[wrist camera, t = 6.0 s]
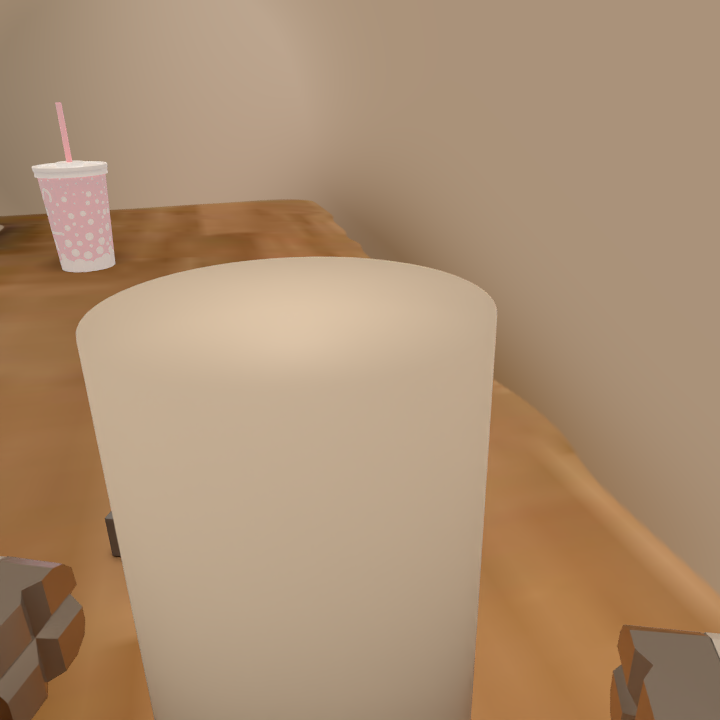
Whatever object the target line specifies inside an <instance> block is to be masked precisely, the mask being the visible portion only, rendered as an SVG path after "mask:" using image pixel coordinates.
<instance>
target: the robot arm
mask: <svg viewBox="0 0 720 720" xmlns="http://www.w3.org/2000/svg"><path fill="white" fill-rule="evenodd" d="M76 585H77V584H76V581H75V577H74V574H73V571H72V568H71V567H69V566H66V565H64V564H60V563H52V562H45V561H38V560H30V559H23V558H16V557H8V556H7V557H3V556H0V720H31V719H32V718H33V717H34V715H35V714H36V713H37V711H38V710H39V708H40V707H41V706H42V704H43V703H44V701H45V700H46V699H47V697H48V682H49V681H51V680H52V679H54V678H56V677H57V676H59V675H60V674H62V673H64V672H65V671H67V669H68V668H69V666H70V665H71V663H72V662H73V660H74V659H75V657H76V656H77V655H78V652H79V649H80V646H81V643H82V640H83V638H84V635H85V617H84V612H83V608H82V606H81V605H80V604H79V603H78V602H77V601H76V600H75V599H74V598H73V597H72V596H71V593H72V591H73V590H74V588H75V586H76ZM617 647H618V651H619V655H620V660H621V664H622V665H620V666H619V667H618V668H616V669H615V670H614V671H613V675H612V682H611V689H610V713H611V720H720V634H716V633H706V632H705V633H701V632H693V631H683V630H673V629H663V628H653V627H643V626H633V625H623V627H622V629H621V631H620V635H619V640H618V646H617Z"/></svg>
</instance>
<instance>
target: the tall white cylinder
mask: <svg viewBox="0 0 720 720" xmlns="http://www.w3.org/2000/svg"><path fill="white" fill-rule="evenodd" d="M496 324H497V308H496V305H495V302H494V301H493V300H492V298H491V297H490V295H489V294H487V293H486V292H485V291H484V290H483V289H481V288H480V287H478V286H476V285H475V284H473V283H471V282H469V281H467V280H465V279H463V278H460V277H458V276H455V275H452V274H449V273H446V272H443V271H440V270H435V269H432V268H428V267H423V266H418V265H414V264H408V263H402V262H395V261H387V260H378V259H366V258H351V257H291V258H273V259H262V260H251V261H243V262H234V263H227V264H221V265H214V266H208V267H203V268H198V269H193V270H188V271H184V272H179V273H175V274H171V275H168V276H164V277H160V278H157V279H153V280H150V281H147V282H144V283H141V284H138V285H136V286H133V287H131V288H128V289H126V290H123V291H121V292H119V293H117V294H115V295H113V296H111V297H109V298H107V299H105V300H104V301H102V302H101V303H99V304H97V305H96V306H95V307H93V308H92V309H91V310H90V311H89V312H88V313H86V314H85V316H84V317H83V318H82V320H81V321H80V322H79V324H78V327H77V330H76V341H77V346H78V351H79V356H80V360H81V365H82V370H83V375H84V380H85V385H86V389H87V394H88V399H89V404H90V409H91V414H92V419H93V423H94V428H95V433H96V438H97V443H98V448H99V453H100V457H101V462H102V467H103V472H104V477H105V482H106V487H107V491H108V496H109V501H110V506H111V511H112V516H113V520H114V525H115V530H116V535H117V540H118V545H119V550H120V554H121V559H122V564H123V569H124V574H125V579H126V584H127V588H128V593H129V598H130V603H131V608H132V613H133V617H134V622H135V627H136V632H137V637H138V642H139V647H140V651H141V656H142V661H143V666H144V671H145V676H146V681H147V685H148V690H149V695H150V700H151V705H152V710H153V714H154V719H155V720H471V708H472V693H473V678H474V662H475V647H476V632H477V616H478V601H479V586H480V570H481V555H482V539H483V524H484V509H485V493H486V478H487V463H488V447H489V432H490V417H491V401H492V386H493V370H494V354H495V340H496V339H495V338H496Z"/></svg>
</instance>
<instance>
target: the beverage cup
mask: <svg viewBox="0 0 720 720" xmlns="http://www.w3.org/2000/svg"><path fill="white" fill-rule="evenodd" d="M55 104H56V109H57V114H58V120H59V125H60V130H61V135H62V141H63V146H64V150H65V156H66V161H61V162H56V163H50V164H42V165H37V166H32V171H33V172H34V177H36V178H38V182H39V185H40V189H41V193H42V196H43V200H44V204H45V207H46V211H47V215H48V218H49V222H50V226H51V229H52V233H53V237H54V240H55V244H56V248H57V251H58V255H59V259H60V262H61V266H62V269H63V270H64V271H68V272H89V271H96V270H101V269H106V268H109V267H112V266H113V265H115V258H114V248H113V239H112V230H111V221H110V211H109V202H108V194H107V184H106V173H108V171H107V163H106V162H99V161H84V162H83V161H72V158H71V152H70V146H69V141H68V136H67V130H66V126H65V120H64V114H63V109H62V104H61V102H56V103H55Z"/></svg>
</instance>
